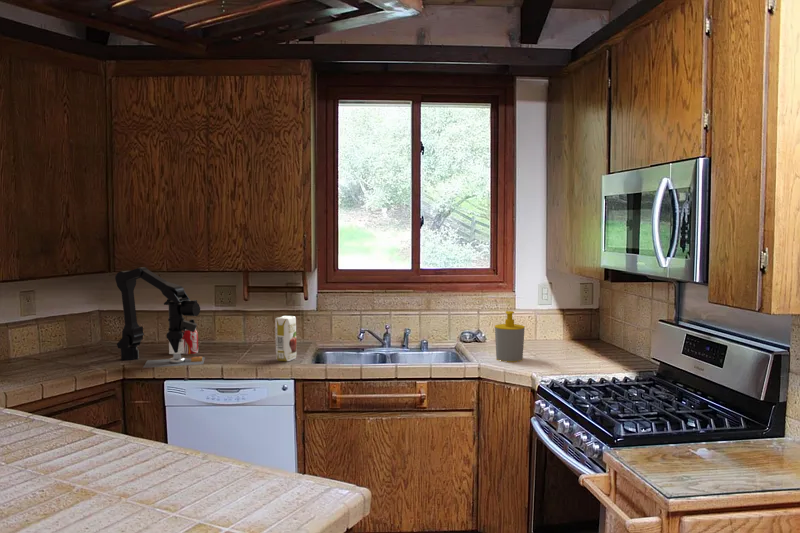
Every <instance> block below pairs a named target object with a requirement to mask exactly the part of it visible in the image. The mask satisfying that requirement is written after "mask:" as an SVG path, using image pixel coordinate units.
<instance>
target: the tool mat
mask: <svg viewBox="0 0 800 533" xmlns="http://www.w3.org/2000/svg"><path fill="white" fill-rule="evenodd" d="M169 359H170V358H167V359H165V358H163V359H149V360H148V359H147V360H146V362H145V364H144V365H143V366H142V368H143V369H145V368H146V369H147V368H162V367H163V368H164V367H176V366H177V367H178V366H179V367H181V366H194V365H195V366H196V365H204V364H205V363H204V362H205V359H206V357H205V356H202V361H198V362H184V363H179V364H171V363H169Z"/></svg>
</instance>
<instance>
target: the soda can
mask: <svg viewBox="0 0 800 533" xmlns="http://www.w3.org/2000/svg"><path fill="white" fill-rule="evenodd" d="M185 330H186V329H185ZM182 332H184V331H182ZM182 339H184V353H182V355H195V354H197V353H199V332H198V330H197V328H196V329H195V332H191V331H189V330H186V331H185V332H184V335H183V338H182ZM182 339H181V340H182Z"/></svg>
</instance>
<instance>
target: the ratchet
mask: <svg viewBox="0 0 800 533" xmlns="http://www.w3.org/2000/svg"><path fill="white" fill-rule="evenodd" d="M172 356H173V357H170V358H168V359H169V363H171V364H179V363H184V362H198V361H202V357H203V356H191V357H185V356H182V353H181V354H172Z"/></svg>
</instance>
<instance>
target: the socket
mask: <svg viewBox="0 0 800 533" xmlns="http://www.w3.org/2000/svg"><path fill="white" fill-rule="evenodd" d="M168 351H169V352H168V354H169V355H173V354H181V355H182V354H183V353H184V339H181V340H180V341H179V347H178V352H177V353H175V352H174V350H173V348H172V346H171V344H170V342H169V341H168Z"/></svg>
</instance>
